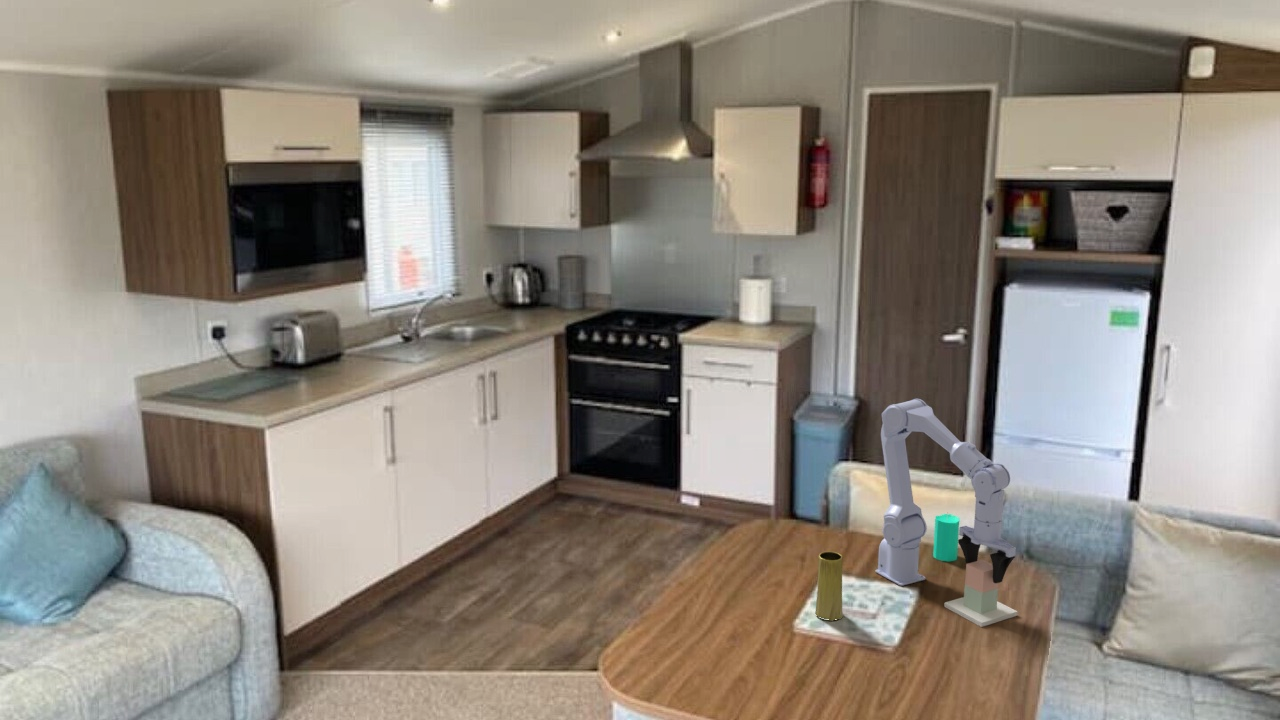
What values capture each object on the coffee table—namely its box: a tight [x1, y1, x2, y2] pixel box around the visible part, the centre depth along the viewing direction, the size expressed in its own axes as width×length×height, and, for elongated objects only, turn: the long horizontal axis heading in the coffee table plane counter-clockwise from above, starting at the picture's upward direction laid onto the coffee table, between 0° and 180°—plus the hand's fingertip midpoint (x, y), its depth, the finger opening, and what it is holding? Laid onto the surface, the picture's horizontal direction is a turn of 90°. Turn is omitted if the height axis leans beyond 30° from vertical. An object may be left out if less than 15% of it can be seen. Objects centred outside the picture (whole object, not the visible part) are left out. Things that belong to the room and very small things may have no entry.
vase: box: [814, 550, 844, 620], centre depth 215 cm, size 6×6×14 cm
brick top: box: [964, 559, 1000, 593], centre depth 215 cm, size 5×5×5 cm
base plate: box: [943, 596, 1018, 628], centre depth 217 cm, size 11×11×1 cm
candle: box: [932, 512, 960, 562], centre depth 245 cm, size 6×6×12 cm
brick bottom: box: [963, 584, 999, 614], centre depth 216 cm, size 5×5×5 cm
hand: (984, 575), depth 216 cm, fingers open, 7 cm apart
